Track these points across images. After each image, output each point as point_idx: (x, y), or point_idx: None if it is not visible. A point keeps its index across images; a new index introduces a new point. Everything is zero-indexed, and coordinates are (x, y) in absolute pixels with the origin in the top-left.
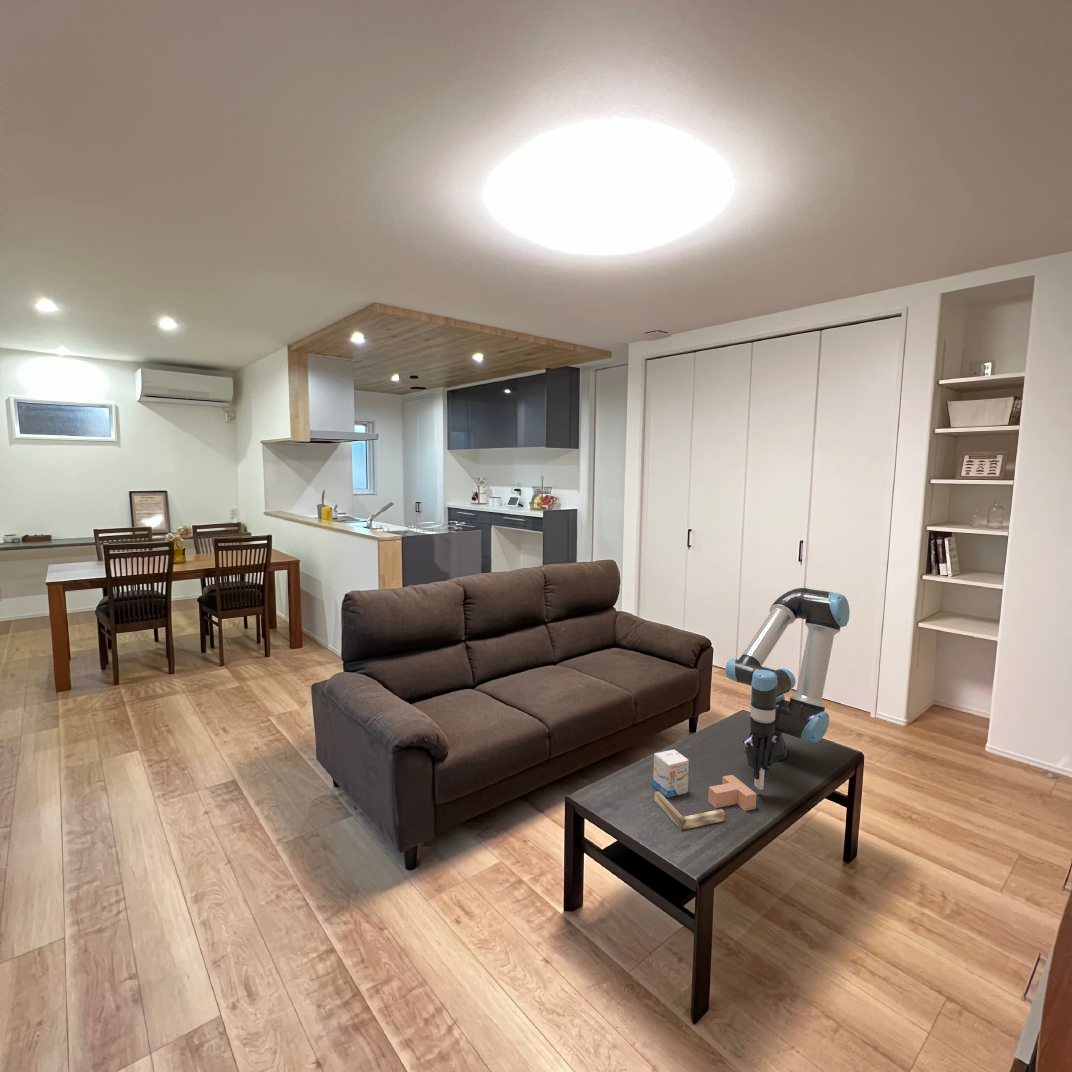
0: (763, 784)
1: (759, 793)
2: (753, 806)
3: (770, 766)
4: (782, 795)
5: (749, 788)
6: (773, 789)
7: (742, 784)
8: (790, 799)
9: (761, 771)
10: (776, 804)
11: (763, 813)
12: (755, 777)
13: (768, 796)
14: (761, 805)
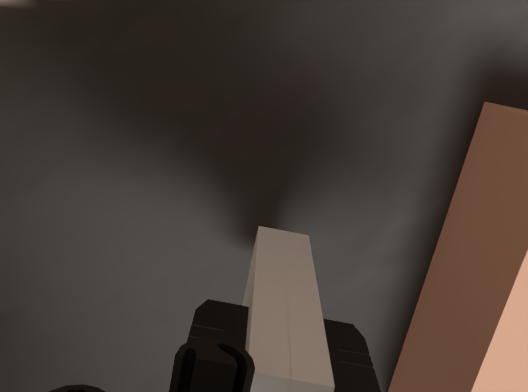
0: (262, 249)
1: (237, 251)
2: (524, 111)
3: (87, 387)
4: (64, 129)
5: (526, 257)
6: (66, 236)
7: (514, 350)
8: (43, 41)
9: (316, 373)
10: (245, 50)
11: (495, 5)
12: (362, 351)
13: (202, 181)
14: (389, 111)
